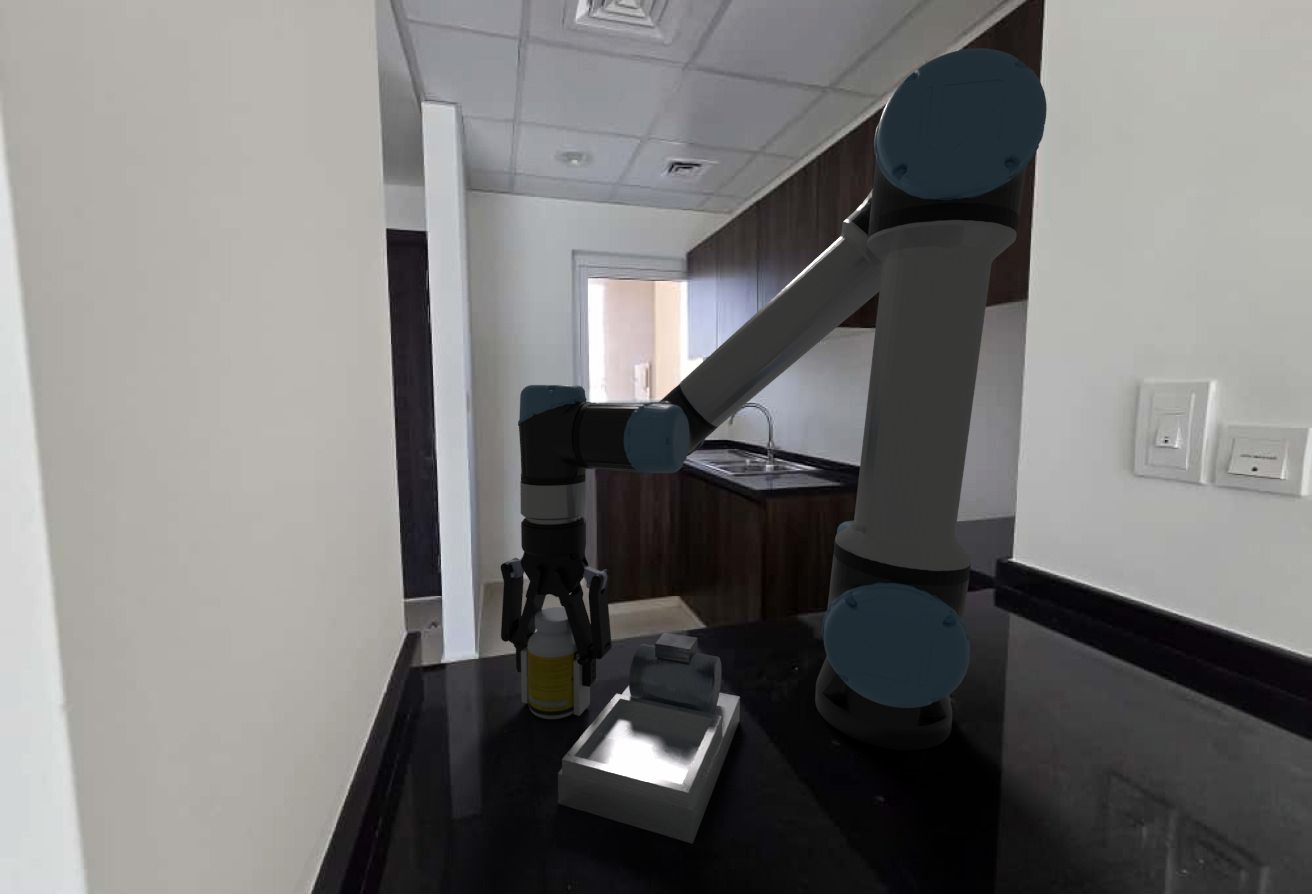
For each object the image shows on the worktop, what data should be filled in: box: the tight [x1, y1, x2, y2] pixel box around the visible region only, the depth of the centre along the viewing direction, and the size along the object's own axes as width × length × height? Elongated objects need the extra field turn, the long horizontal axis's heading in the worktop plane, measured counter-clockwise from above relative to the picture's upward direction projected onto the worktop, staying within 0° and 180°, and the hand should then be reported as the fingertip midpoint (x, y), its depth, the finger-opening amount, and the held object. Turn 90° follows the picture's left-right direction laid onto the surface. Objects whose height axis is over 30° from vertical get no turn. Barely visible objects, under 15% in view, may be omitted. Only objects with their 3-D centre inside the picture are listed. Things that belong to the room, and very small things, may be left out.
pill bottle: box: [528, 606, 579, 720], centre depth 67 cm, size 6×6×12 cm
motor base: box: [557, 632, 741, 844], centre depth 58 cm, size 19×13×10 cm
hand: (555, 702), depth 68 cm, fingers closed on pill bottle, 6 cm apart
